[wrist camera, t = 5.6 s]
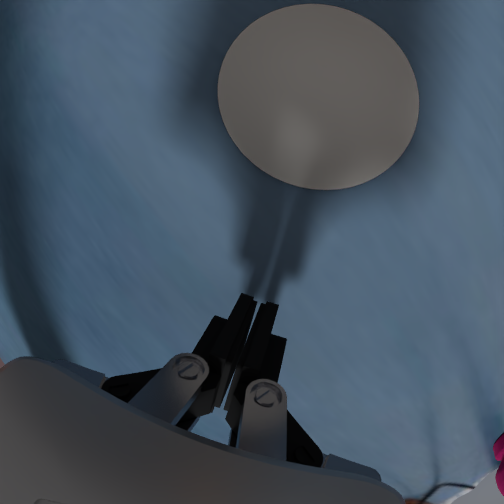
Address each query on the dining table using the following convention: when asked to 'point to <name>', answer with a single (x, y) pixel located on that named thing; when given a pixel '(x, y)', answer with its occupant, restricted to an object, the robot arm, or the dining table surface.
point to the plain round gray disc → (318, 96)
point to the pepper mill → (502, 452)
